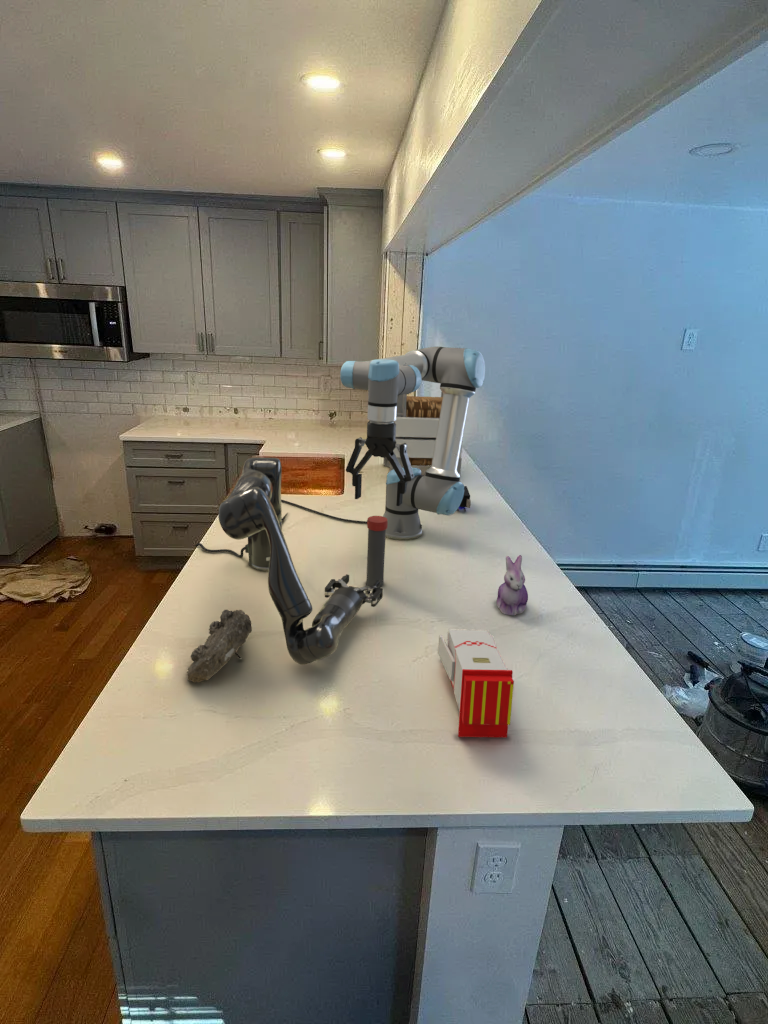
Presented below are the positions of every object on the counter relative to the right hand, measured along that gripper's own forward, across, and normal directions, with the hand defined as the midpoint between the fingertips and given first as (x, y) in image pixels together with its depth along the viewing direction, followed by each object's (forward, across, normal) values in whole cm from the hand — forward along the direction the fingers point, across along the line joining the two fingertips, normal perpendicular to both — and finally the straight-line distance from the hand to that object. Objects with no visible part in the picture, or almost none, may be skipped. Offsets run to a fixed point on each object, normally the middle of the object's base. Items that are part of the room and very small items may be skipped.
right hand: (378, 501), depth 154 cm
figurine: (+25, -39, -3) cm, 46 cm away
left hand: (+19, 0, +10) cm, 22 cm away
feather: (+25, +50, -37) cm, 67 cm away
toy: (+25, -36, +37) cm, 57 cm away
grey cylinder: (+25, 0, 0) cm, 25 cm away
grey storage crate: (+25, +23, -118) cm, 123 cm away
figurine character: (+25, -7, -78) cm, 82 cm away
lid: (+6, 0, 0) cm, 6 cm away
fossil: (+25, +18, +47) cm, 56 cm away
